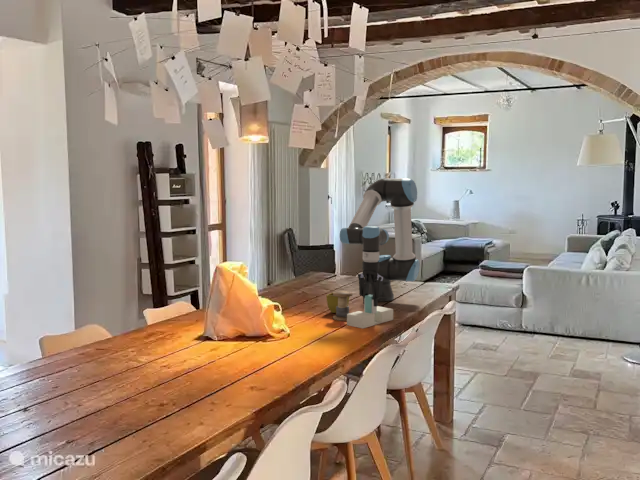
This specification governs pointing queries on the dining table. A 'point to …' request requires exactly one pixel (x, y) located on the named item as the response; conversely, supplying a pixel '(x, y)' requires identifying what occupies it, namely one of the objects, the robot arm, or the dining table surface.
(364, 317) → the notched board
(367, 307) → the block
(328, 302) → the flower pot
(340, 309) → the door knob
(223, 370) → the dining table surface
